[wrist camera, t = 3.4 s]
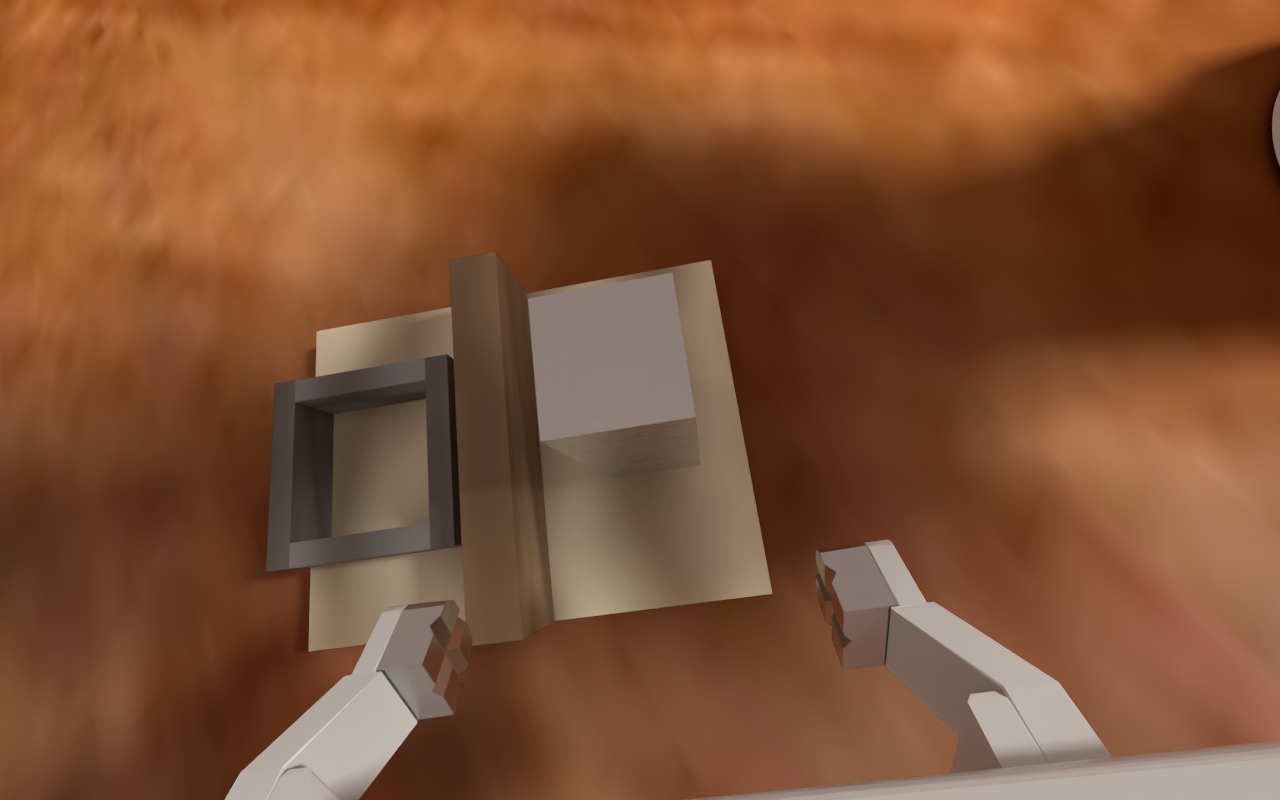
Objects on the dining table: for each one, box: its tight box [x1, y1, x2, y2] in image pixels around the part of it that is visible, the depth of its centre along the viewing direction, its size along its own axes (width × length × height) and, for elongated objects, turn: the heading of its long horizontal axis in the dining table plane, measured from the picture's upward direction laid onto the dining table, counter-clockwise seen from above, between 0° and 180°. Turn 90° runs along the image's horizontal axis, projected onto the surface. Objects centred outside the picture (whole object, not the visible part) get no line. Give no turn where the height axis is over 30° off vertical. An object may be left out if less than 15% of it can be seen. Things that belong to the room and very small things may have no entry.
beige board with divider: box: [266, 252, 772, 652], centre depth 23 cm, size 20×15×6 cm
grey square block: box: [528, 273, 701, 479], centre depth 19 cm, size 4×4×10 cm
